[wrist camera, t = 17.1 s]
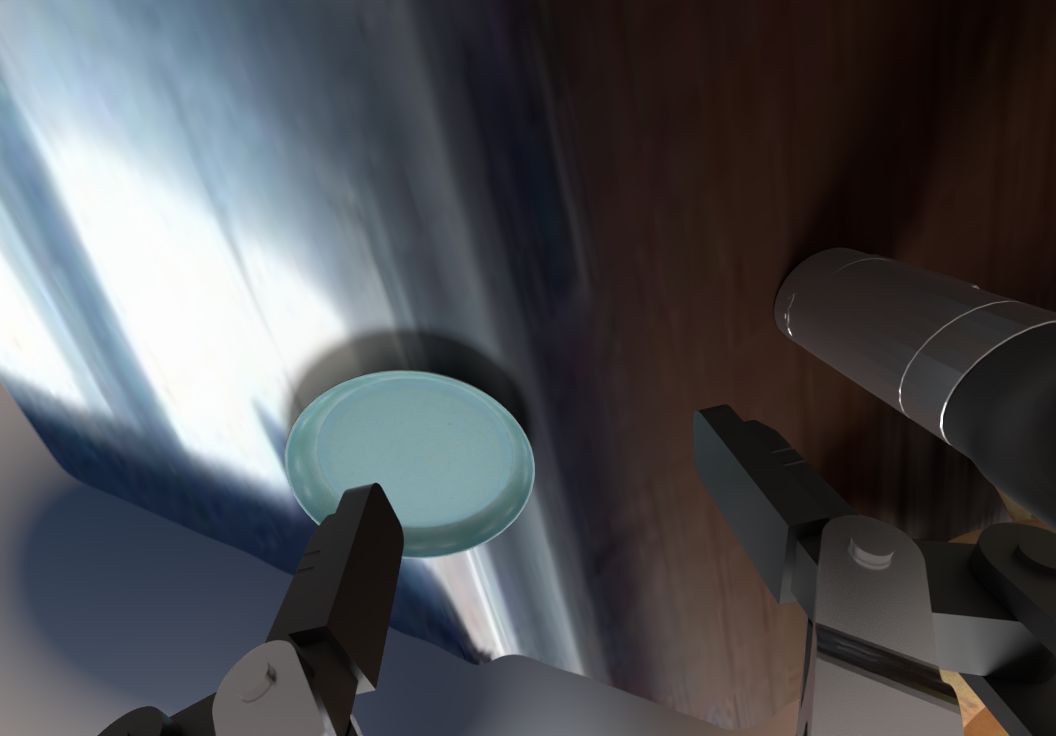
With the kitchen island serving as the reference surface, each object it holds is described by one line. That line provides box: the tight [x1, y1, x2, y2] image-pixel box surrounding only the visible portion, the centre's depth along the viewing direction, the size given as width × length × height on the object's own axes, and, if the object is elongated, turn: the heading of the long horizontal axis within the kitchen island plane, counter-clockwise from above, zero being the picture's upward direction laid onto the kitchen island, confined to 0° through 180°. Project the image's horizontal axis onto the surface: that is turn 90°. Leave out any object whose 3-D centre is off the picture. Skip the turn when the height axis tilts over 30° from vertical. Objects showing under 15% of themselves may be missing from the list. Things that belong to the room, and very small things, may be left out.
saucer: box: [285, 370, 535, 559], centre depth 44 cm, size 24×24×3 cm
